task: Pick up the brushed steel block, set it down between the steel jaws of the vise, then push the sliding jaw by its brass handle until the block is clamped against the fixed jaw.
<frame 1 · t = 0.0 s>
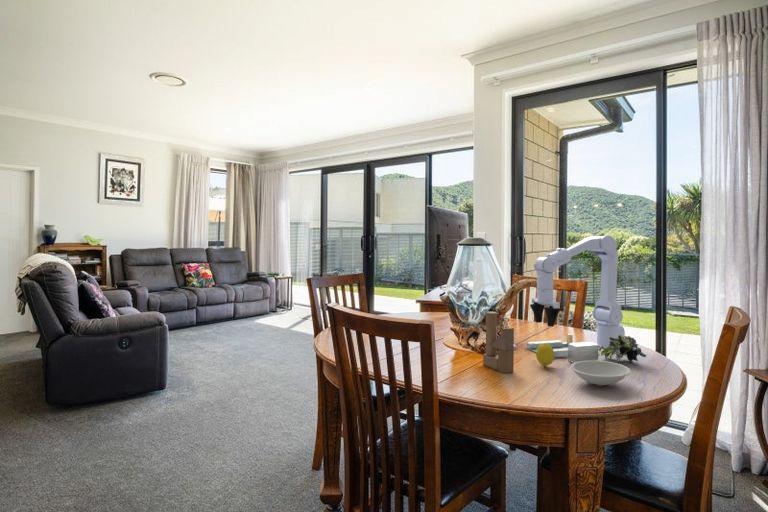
hand: (544, 324, 156), 10 cm above the table, tool pointing down, fingers open, 7 cm apart
vise base: (560, 352, 154), on the table
steel block: (582, 361, 143), on the table
dish: (599, 385, 119), on the table
lemon: (544, 367, 137), on the table
green leafy plant: (621, 363, 141), on the table
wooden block: (497, 369, 135), on the table
sliding jaw: (551, 341, 160), point 3 cm above the table, slide at 0.0 cm
bracket: (500, 347, 164), on the table
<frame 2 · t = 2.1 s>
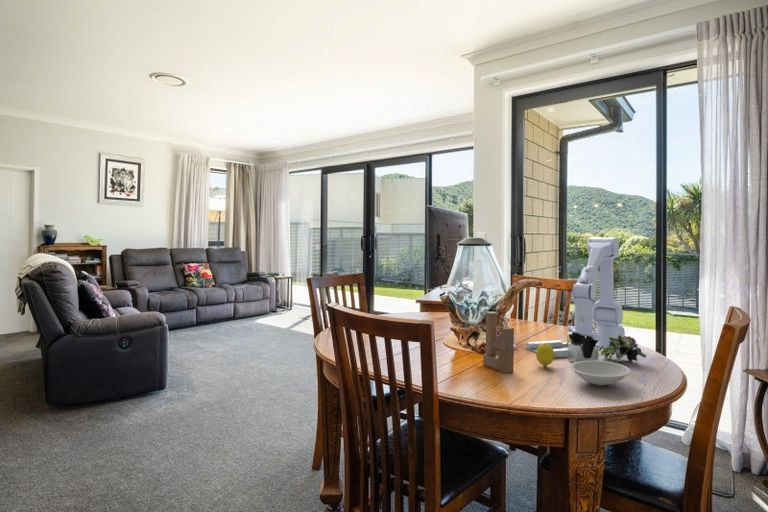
hand: (583, 356, 143), 2 cm above the table, tool pointing down, fingers closed on steel block, 4 cm apart
steel block: (582, 360, 143), on the table, touching gripper
everything else where it was.
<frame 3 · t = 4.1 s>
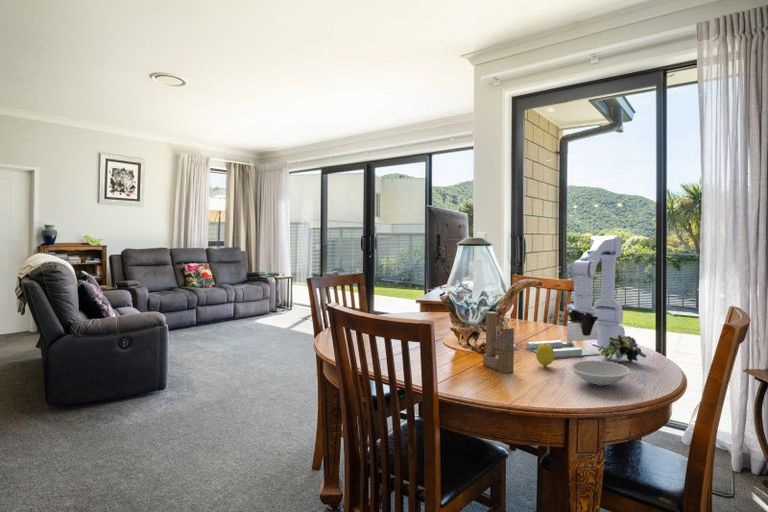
hand: (582, 333, 143), 9 cm above the table, tool pointing down, fingers closed on steel block, 4 cm apart
steel block: (582, 338, 143), point 8 cm above the table, touching gripper
everything else where it was.
when the fingers open (4 cm above the table, at t = 6.4 s): steel block drops 1 cm, resting on vise base.
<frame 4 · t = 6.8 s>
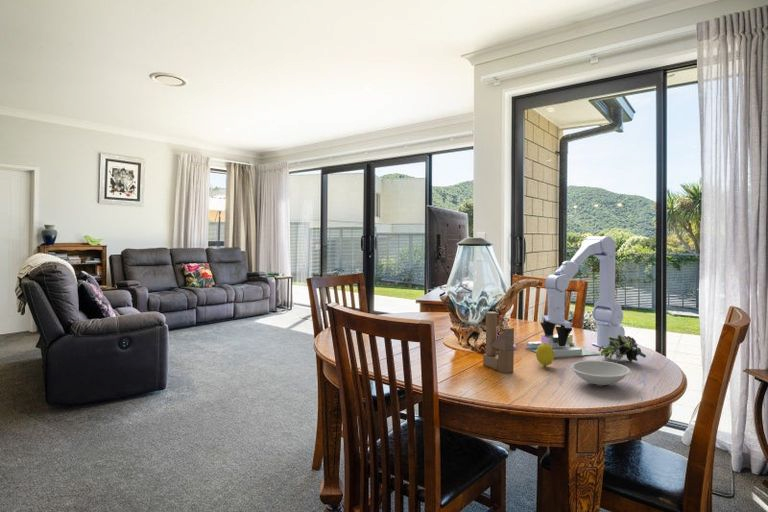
hand: (555, 343, 153), 4 cm above the table, tool pointing down, fingers open, 7 cm apart
steel block: (555, 352, 153), resting on vise base
everything else where it was.
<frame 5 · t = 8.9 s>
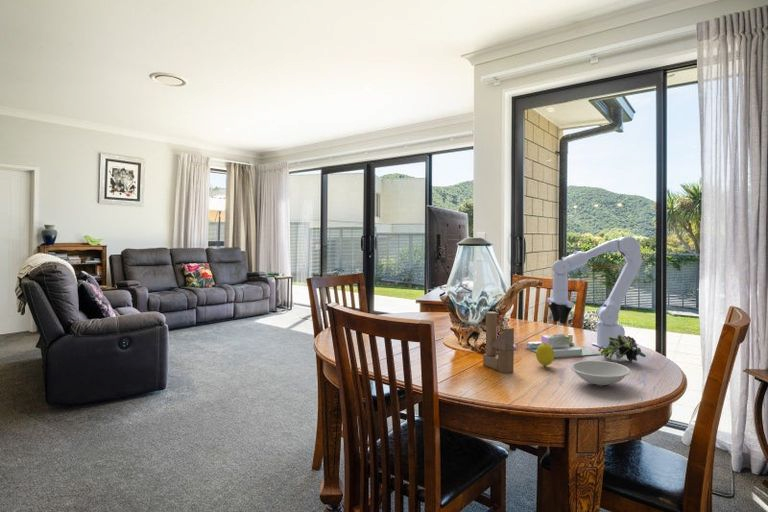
hand: (559, 322, 169), 8 cm above the table, tool pointing down, fingers open, 4 cm apart
nothing on the table moved.
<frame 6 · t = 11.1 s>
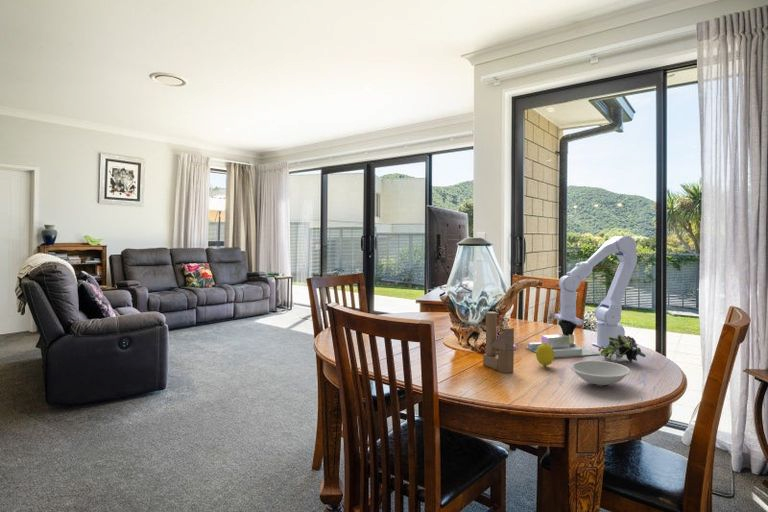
hand: (567, 339, 164), 2 cm above the table, tool pointing down, fingers closed
sliding jaw: (552, 341, 160), point 3 cm above the table, slide at 0.9 cm, touching gripper
everything else where it was.
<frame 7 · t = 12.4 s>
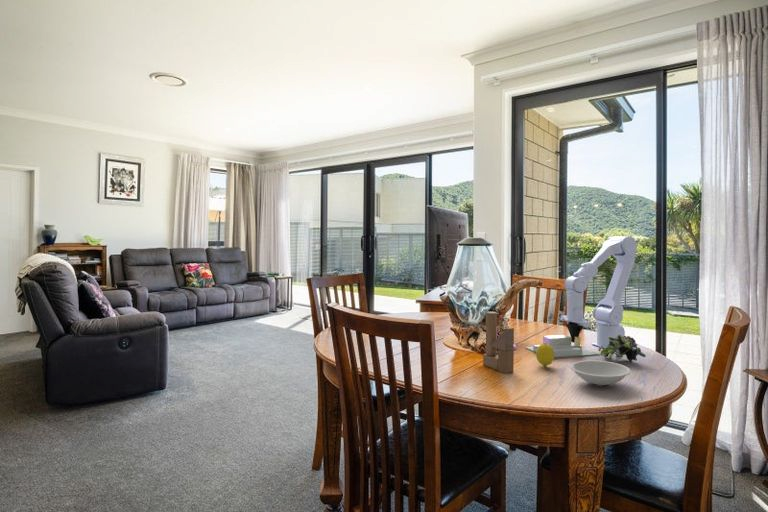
hand: (574, 342, 160), 2 cm above the table, tool pointing down, fingers closed
steel block: (556, 352, 152), resting on vise base, touching sliding jaw
sliding jaw: (558, 343, 156), point 3 cm above the table, slide at 4.5 cm, touching gripper, steel block
everything else where it was.
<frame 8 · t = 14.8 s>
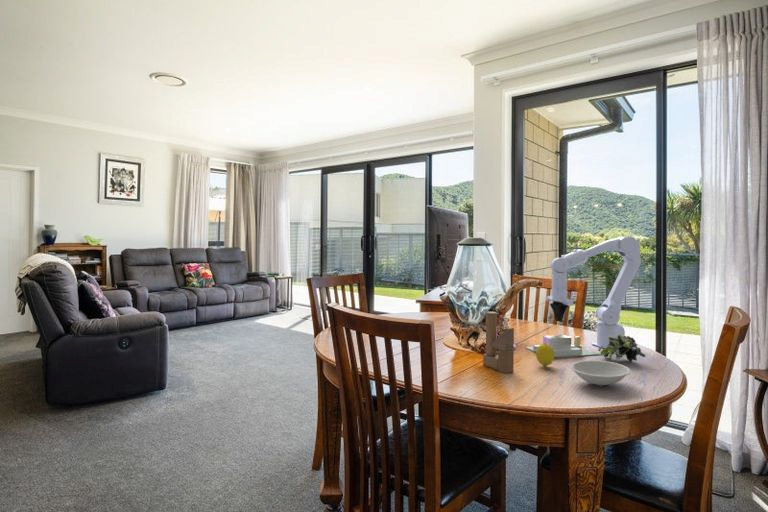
hand: (558, 320, 167), 9 cm above the table, tool pointing down, fingers closed
sliding jaw: (558, 343, 156), point 3 cm above the table, slide at 4.5 cm, touching steel block
everything else where it was.
at the end: steel block 0.1 cm from the target spot, resting on vise base; sliding jaw slide at 4.5 cm; steel block tilted 0° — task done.
